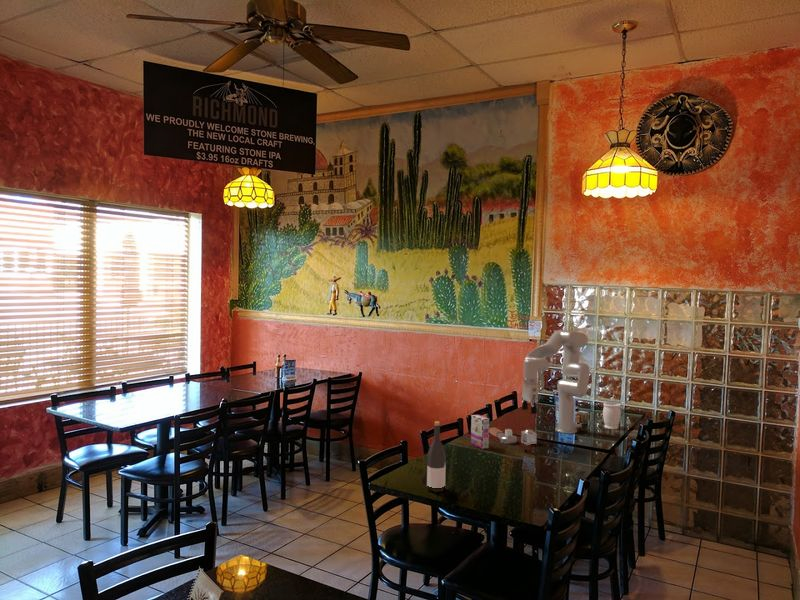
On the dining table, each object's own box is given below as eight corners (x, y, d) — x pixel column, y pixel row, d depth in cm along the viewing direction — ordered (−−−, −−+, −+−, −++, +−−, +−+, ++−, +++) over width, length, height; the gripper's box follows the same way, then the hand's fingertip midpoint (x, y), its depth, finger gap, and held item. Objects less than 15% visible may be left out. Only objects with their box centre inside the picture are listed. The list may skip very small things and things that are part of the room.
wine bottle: (425, 486, 263) (426, 419, 262) (443, 486, 264) (444, 419, 263) (427, 493, 255) (429, 424, 254) (446, 492, 256) (447, 424, 254)
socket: (530, 441, 335) (531, 428, 335) (536, 444, 329) (536, 431, 329) (521, 442, 333) (521, 429, 333) (526, 445, 328) (526, 432, 327)
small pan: (498, 431, 355) (498, 419, 355) (519, 443, 330) (519, 431, 330) (484, 432, 352) (484, 420, 352) (504, 444, 328) (505, 432, 327)
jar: (621, 430, 361) (622, 406, 360) (604, 429, 363) (604, 405, 362) (618, 425, 371) (619, 402, 371) (601, 425, 373) (601, 401, 372)
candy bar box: (489, 448, 321) (490, 418, 320) (481, 449, 319) (482, 419, 318) (477, 443, 331) (478, 414, 330) (470, 444, 329) (470, 414, 328)
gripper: (544, 383, 323) (543, 414, 323) (528, 378, 339) (527, 407, 340) (531, 384, 320) (531, 415, 321) (516, 378, 337) (515, 408, 338)
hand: (529, 411), depth 330 cm, fingers open, 9 cm apart
